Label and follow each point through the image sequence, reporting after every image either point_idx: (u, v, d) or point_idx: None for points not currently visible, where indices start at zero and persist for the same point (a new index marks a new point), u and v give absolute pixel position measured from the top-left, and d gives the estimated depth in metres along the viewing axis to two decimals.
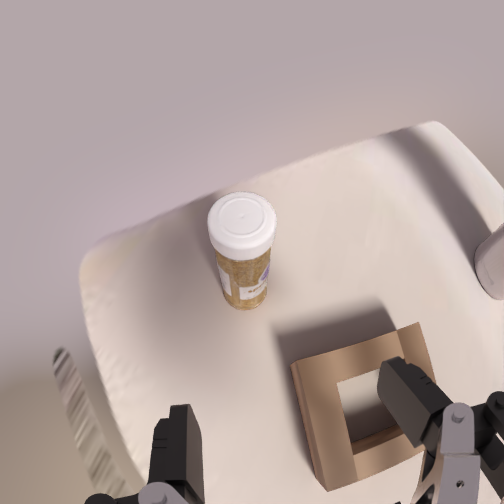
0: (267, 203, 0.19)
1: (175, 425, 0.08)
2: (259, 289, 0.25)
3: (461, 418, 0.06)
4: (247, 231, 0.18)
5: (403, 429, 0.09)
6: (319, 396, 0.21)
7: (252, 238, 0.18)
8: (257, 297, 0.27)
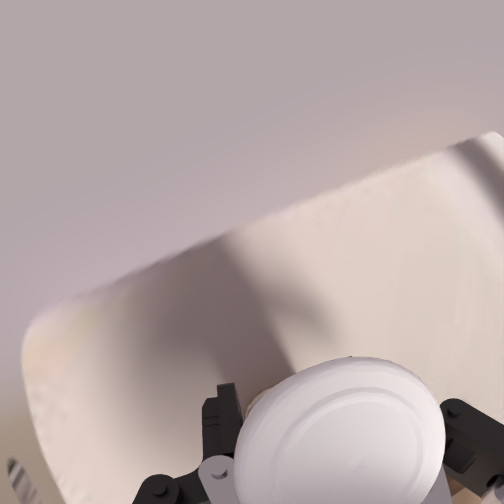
0: (430, 401, 0.04)
1: (225, 402, 0.09)
2: None
3: None
4: None
5: None
6: None
7: None
8: None
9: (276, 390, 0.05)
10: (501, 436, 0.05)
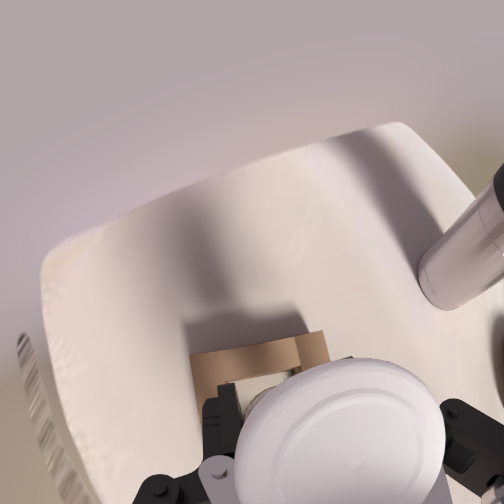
0: (430, 402, 0.04)
1: (225, 402, 0.09)
2: None
3: None
4: None
5: None
6: (207, 390, 0.24)
7: None
8: None
9: (276, 391, 0.05)
10: (501, 436, 0.05)
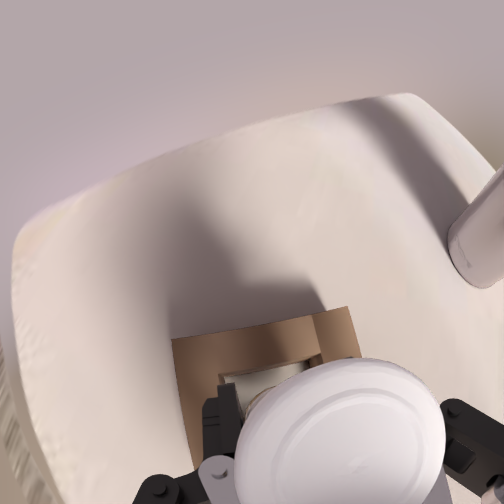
0: (430, 402, 0.04)
1: (225, 402, 0.09)
2: None
3: None
4: None
5: None
6: (194, 387, 0.17)
7: None
8: None
9: (277, 391, 0.05)
10: (501, 436, 0.05)
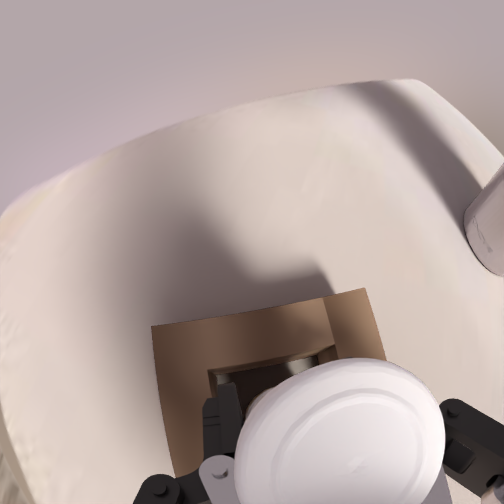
0: (430, 401, 0.04)
1: (225, 402, 0.09)
2: None
3: None
4: None
5: None
6: (178, 386, 0.14)
7: None
8: None
9: (276, 391, 0.05)
10: (500, 436, 0.05)
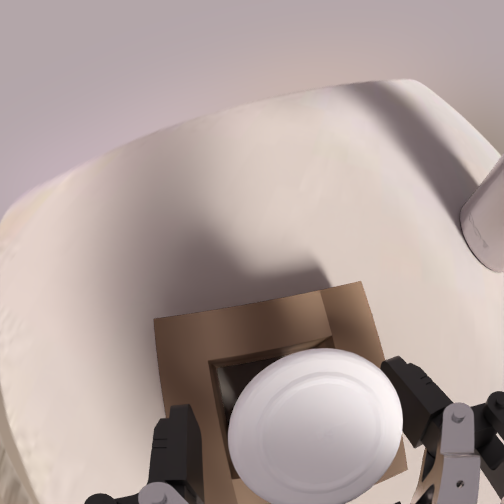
0: (387, 387, 0.06)
1: (175, 425, 0.08)
2: None
3: (461, 418, 0.06)
4: (338, 476, 0.05)
5: (403, 429, 0.09)
6: (179, 376, 0.14)
7: (349, 490, 0.05)
8: None
9: (261, 372, 0.07)
10: None
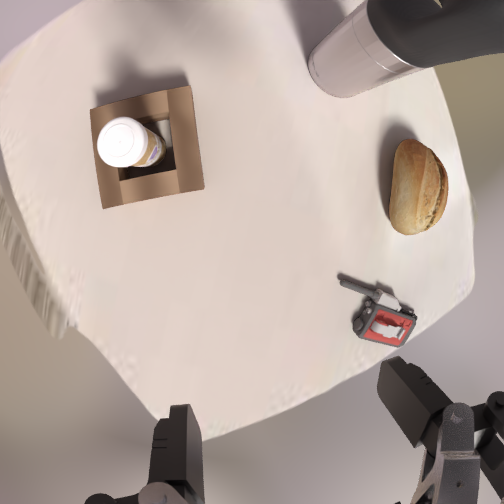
0: (138, 128, 0.22)
1: (175, 425, 0.08)
2: (151, 162, 0.30)
3: (461, 418, 0.06)
4: (121, 154, 0.22)
5: (403, 429, 0.09)
6: None
7: (124, 159, 0.22)
8: (154, 162, 0.32)
9: (106, 124, 0.21)
10: None
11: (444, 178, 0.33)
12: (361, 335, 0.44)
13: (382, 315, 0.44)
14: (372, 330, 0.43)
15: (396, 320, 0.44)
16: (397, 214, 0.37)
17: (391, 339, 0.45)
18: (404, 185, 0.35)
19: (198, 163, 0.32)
